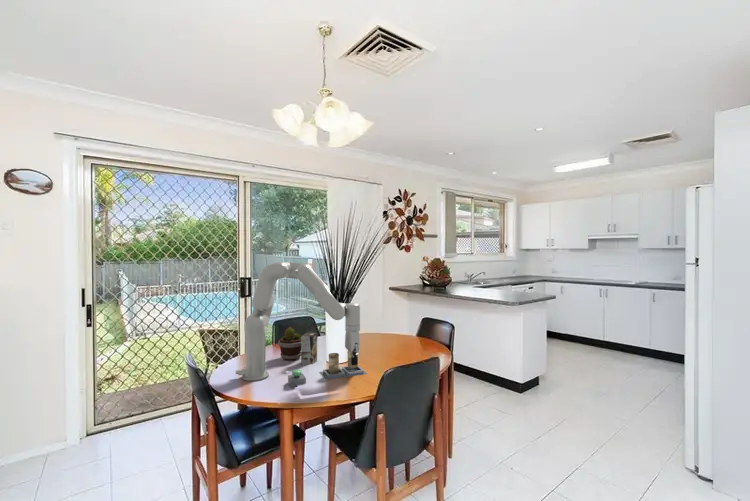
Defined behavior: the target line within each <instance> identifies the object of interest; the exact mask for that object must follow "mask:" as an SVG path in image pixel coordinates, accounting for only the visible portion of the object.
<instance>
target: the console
mask: <svg viewBox="0 0 750 501" xmlns="http://www.w3.org/2000/svg"><path fill="white" fill-rule="evenodd" d="M287 383H288V385H289V388H292V389H293V388H297V387H298V385H303V384H306V383H307V378H306V376H305V375H304V373H302V374H301V375H299V377H298V378H295V376H293V375H292V374H289V375H287Z"/></svg>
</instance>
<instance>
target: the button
mask: <svg viewBox="0 0 750 501" xmlns="http://www.w3.org/2000/svg"><path fill="white" fill-rule="evenodd" d="M302 372H303V371H302V370H301V369H293V370H292V371H291V375H293V376H295V378H298V377H299V375H301V374H302Z"/></svg>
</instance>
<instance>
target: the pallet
mask: <svg viewBox="0 0 750 501" xmlns="http://www.w3.org/2000/svg"><path fill="white" fill-rule="evenodd" d="M318 373H319V374H320V375H321V377H323V379H324V380H325V381H328V380H334V379H335V380H336V379H341V378H348V377H355V376H357V377H358V376H363V375H368V373H367V371H365V370H364V369H363V368H362V367H361V366H359V365H358V367H356V368H349V367H348V365H347V366H342V367H339V373H334V374H329V368H325V369H323V370H322V371H318Z"/></svg>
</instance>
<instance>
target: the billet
mask: <svg viewBox="0 0 750 501" xmlns="http://www.w3.org/2000/svg"><path fill="white" fill-rule="evenodd" d="M353 351H355V350H353ZM354 353H355V352H354ZM347 366H348V367H349V368H356V367H358V366H359V363H358V364H357V365H352V352H350V351H349V350H347Z"/></svg>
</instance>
